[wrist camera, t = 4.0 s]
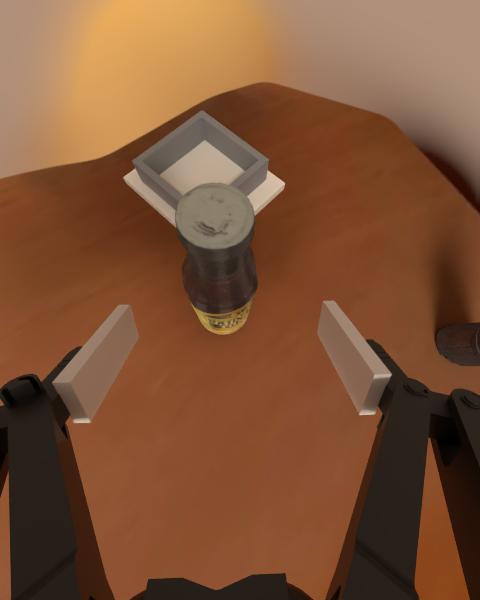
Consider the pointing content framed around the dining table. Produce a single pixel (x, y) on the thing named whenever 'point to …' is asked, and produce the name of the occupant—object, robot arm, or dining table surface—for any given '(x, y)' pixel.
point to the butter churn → (460, 343)
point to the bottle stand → (201, 166)
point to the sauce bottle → (218, 254)
